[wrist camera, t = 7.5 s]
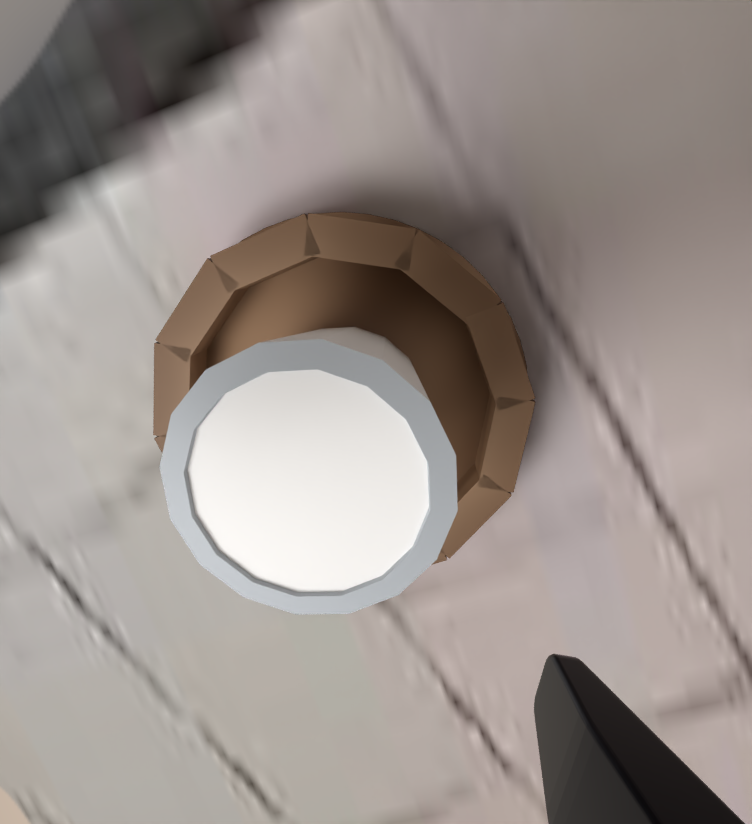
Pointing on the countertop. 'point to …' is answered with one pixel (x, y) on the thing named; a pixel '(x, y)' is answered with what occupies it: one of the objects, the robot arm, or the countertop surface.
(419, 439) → the white canister
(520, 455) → the round wooden tray
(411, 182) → the countertop surface
